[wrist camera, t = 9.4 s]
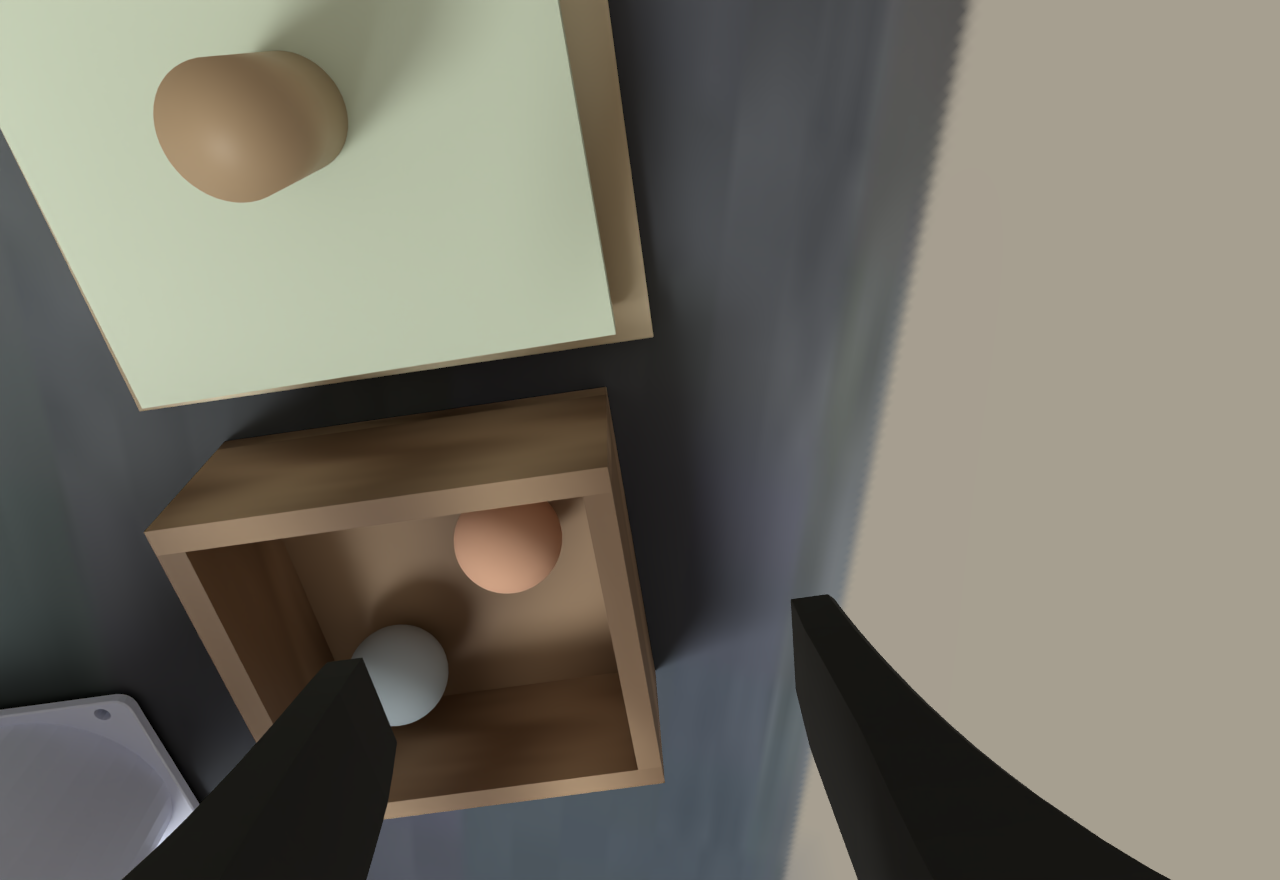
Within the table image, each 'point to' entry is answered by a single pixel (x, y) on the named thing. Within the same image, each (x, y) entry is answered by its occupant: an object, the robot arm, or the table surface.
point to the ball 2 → (508, 546)
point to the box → (432, 591)
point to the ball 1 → (405, 671)
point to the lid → (307, 182)
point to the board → (610, 191)
